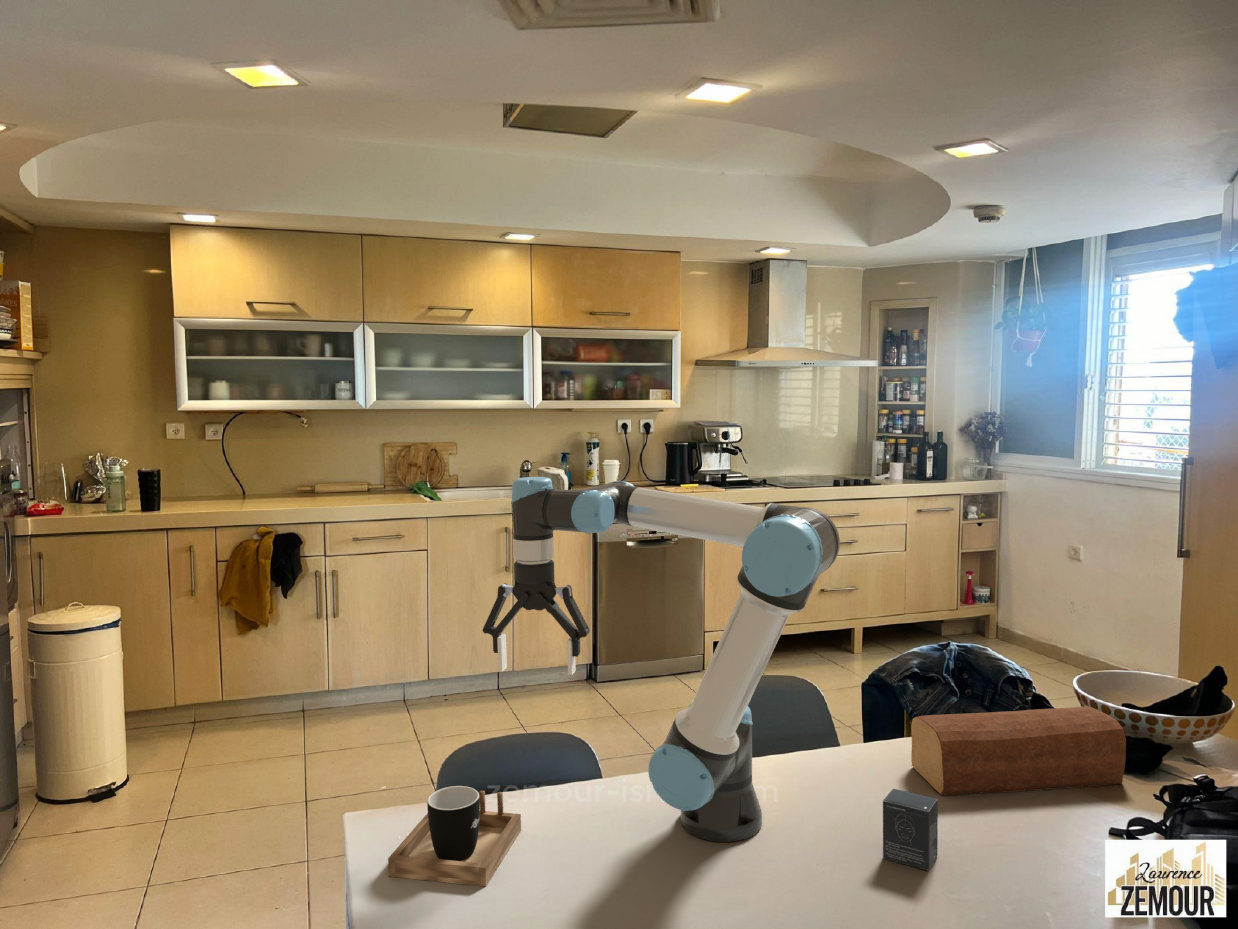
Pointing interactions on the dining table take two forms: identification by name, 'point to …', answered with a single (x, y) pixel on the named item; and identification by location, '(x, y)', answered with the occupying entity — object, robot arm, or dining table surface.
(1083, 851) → the dining table surface
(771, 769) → the dining table surface
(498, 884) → the dining table surface
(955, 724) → the bread
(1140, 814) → the dining table surface
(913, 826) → the box
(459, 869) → the rack
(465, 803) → the mug
